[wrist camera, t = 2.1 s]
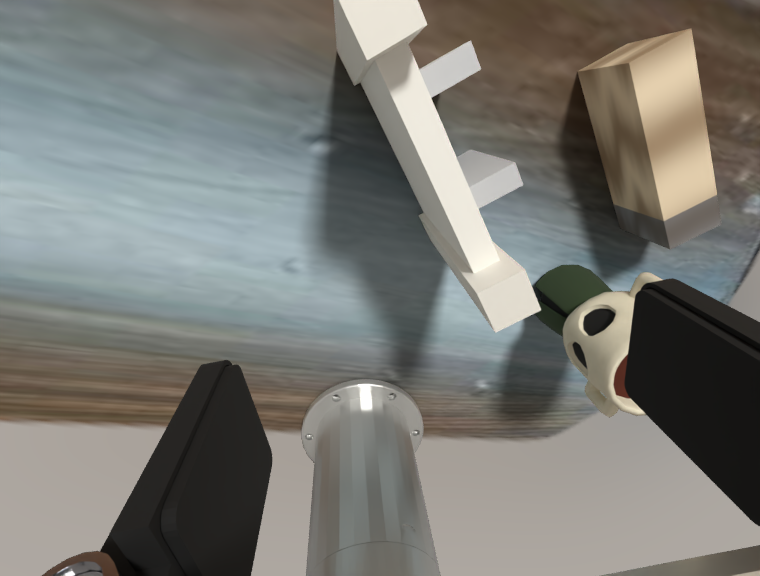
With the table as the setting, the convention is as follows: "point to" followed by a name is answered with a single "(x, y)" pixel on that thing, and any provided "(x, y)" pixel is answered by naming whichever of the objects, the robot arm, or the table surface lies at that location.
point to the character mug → (593, 330)
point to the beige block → (654, 138)
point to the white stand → (435, 149)
